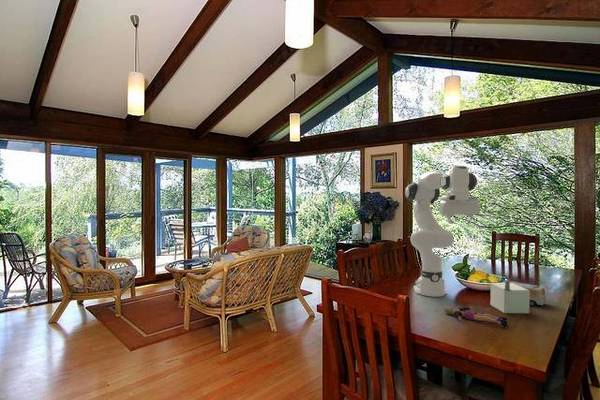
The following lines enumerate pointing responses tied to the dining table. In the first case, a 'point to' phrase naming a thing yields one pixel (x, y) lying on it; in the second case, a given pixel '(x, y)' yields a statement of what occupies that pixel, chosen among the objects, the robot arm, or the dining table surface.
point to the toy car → (534, 293)
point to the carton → (501, 294)
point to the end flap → (516, 300)
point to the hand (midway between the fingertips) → (459, 223)
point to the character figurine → (475, 315)
